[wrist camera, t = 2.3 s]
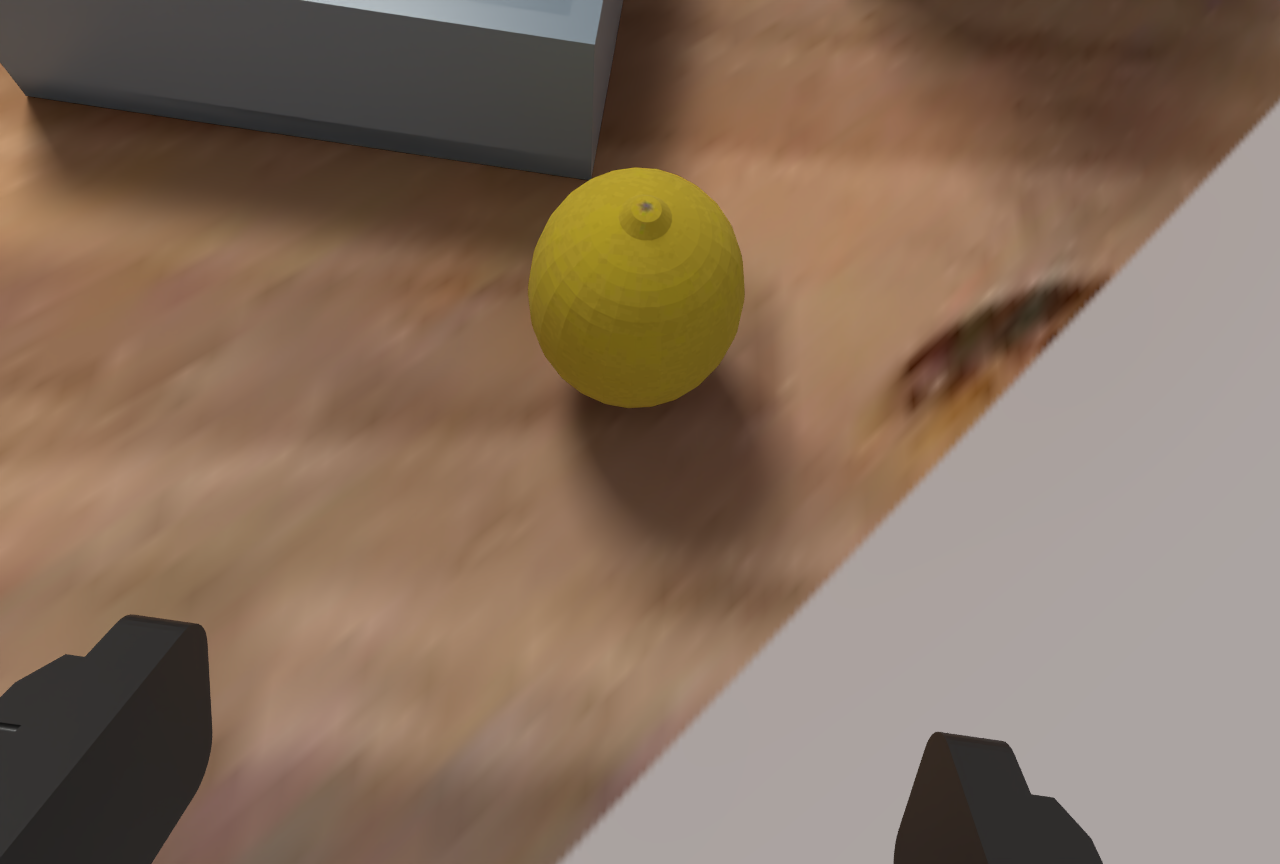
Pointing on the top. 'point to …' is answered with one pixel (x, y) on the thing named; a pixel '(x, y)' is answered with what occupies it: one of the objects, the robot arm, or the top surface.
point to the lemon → (636, 287)
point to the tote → (338, 70)
